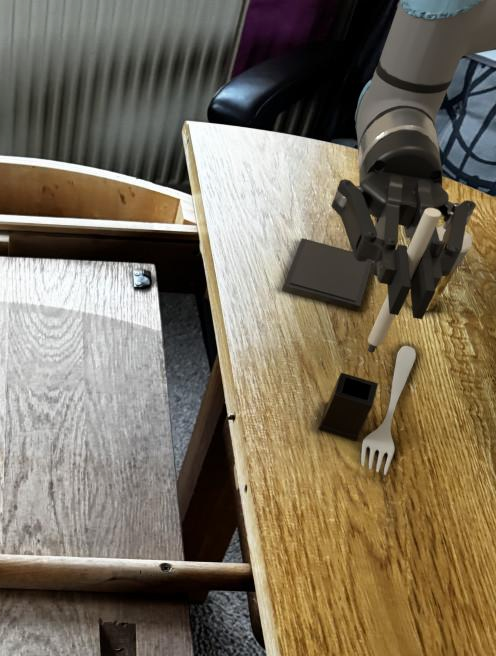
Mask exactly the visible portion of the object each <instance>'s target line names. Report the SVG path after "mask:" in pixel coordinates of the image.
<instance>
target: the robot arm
mask: <svg viewBox="0 0 496 656" xmlns="http://www.w3.org/2000/svg"><path fill="white" fill-rule="evenodd" d="M491 51H496V0H399V3H398V6H397V9H396V12H395V15H394V18H393V20H392V23H391V26H390V28H389V32H388V35H387V38H386V39H385V43H384V46H383V49H382V52H381V55H380V58H379V61H378V64H377V66H376V67H375V69H374V72H373V76H372V78H370V80H369V81H368V82H367V83H366V84H365V86H364V87H363V89H362V91H361V92H360V95H359V98H358V101H357V108H356V110H355V115H354V121H355V125H354V126H355V133H356V137H357V138H356V139H357V152H358V153H357V154H358V156H357V158H358V180H359V181H358V185H356V184H355V183H354V182H352V181H351V180H349V179H346V178H344V179H340V181H339V183H338V185H337V189H336V192H335V194H334V197H333V200H332V202H331V209H333V211H334V212H335V213H336V214H337V215H338V216H339V217H340V219H341V221H342V224H343V227H344V230H345V233H346V236H347V239H348V242H349V246H350V249H351V251H352V252H353V255H354V257H355V259H356V260H358V261H361V262H365V261H367V259H371V260H373V265H372V267H371V269H370V273H371V275H373V276H375V277H377V279H376V280H377V281H378V282H379V284H384V285H386V286H387V295H388V301H389V314H394V315H395V316H399V314H400V312H401V310H402V308H403V306H404V304H405V302H406V300H407V298H408V295H409V292H410V291H411V301H412V307H411V309H412V310H411V311H412V318H413V319H417V320H423V318H424V316H425V315H426V312H427V311H426V310H427V308H428V306H429V304H430V302H431V300H432V298H433V296H434V293H435V290H436V287H437V285H438V283H439V281H440V279H441V277H442V276H449V274H450V273H451V270H452V269H453V267H454V265H455V263H456V260H457V258H458V256H459V254H460V252H461V250H462V245H463V239H464V233H465V231H466V227H467V225H468V223H469V221H470V219H471V217H472V215H473V212H474V211H475V209H476V206H477V204H476V202H474V201H473V200H469V199H467V200H463V201H462V202H461V203H459V202H452V201H449V200H450V195H449V193H448V192H447V191H446V190H445V188H444V187H443V176H444V175H443V167H442V162H441V155H440V146H439V145H440V144H439V139H438V135H437V128H436V119H437V117H438V114H439V112H440V109H441V107H442V104H443V102H444V100H445V98H446V94H447V92H448V89H449V87H450V86H451V84H452V81H453V79H454V76H455V74H456V71H457V69H458V66H459V64H460V62H461V60H462V57H466V56H470V55H475V54H480V53H485V52H491ZM427 208H434V209H437V210H439V211H440V212H441V216H442V217H443V219H442V221H443V222H444V224H443V225H444V226H443V228H444V229H446V231H445V233H444V235H443V240H442V241H440V240H439V236H438V232H437V226H436V227H435V230H434V232H433V234H432V236H431V238H430V241H429V243H428V245H427V247H426V249H425V251H424V254H423V256H422V258H421V260H420V262H419V264H418V267H417V269H416V271H415V273H414V275H413V277H412V280H411V282H410V272H409V262H408V253H407V249H408V246H407V245H404V244H398V243H399V229H400V228H399V226H401V227H403V230H404V234H405V238H406V239H409V242H410V243H411V240H412V238H413V236H414V233H415V231H416V229H417V227H418V224H419V222H420V220H421V218H422V215H423V213H424V211H425V209H427ZM372 217H373V218H374V220H373V219H372ZM374 222H375V223H374Z"/></svg>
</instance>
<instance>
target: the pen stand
mask: <svg viewBox="0 0 496 656" xmlns="http://www.w3.org/2000/svg"><path fill="white" fill-rule="evenodd" d="M378 385H379V383H378V382H376V381H372V380H369V379H365V378H362V377H358V376H356V375H355V376H354V375H352V374H348V373H345V372H340V374H339V376H338V378H337V381H336V383H335V385H334V387H333V389H332V392H331V394H330V397H329V399H328V401H326V403H325V405H324V408H323V412H322V415H321V419H320V421H319V425H318V430H320V431H323V432H325V433H328V434H332V435H335V436H338V437H342V438H345V439H348V440H352V441H355V442H357V441H358V440H359V437H360V433H361V431H362V429H363V426H364V425H365V422H366V421H367V418H368V417H369V414H370V413H371V411H372V408H373V406H374V402H375V398H376V397H375V396H376V394H377V390H378Z"/></svg>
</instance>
